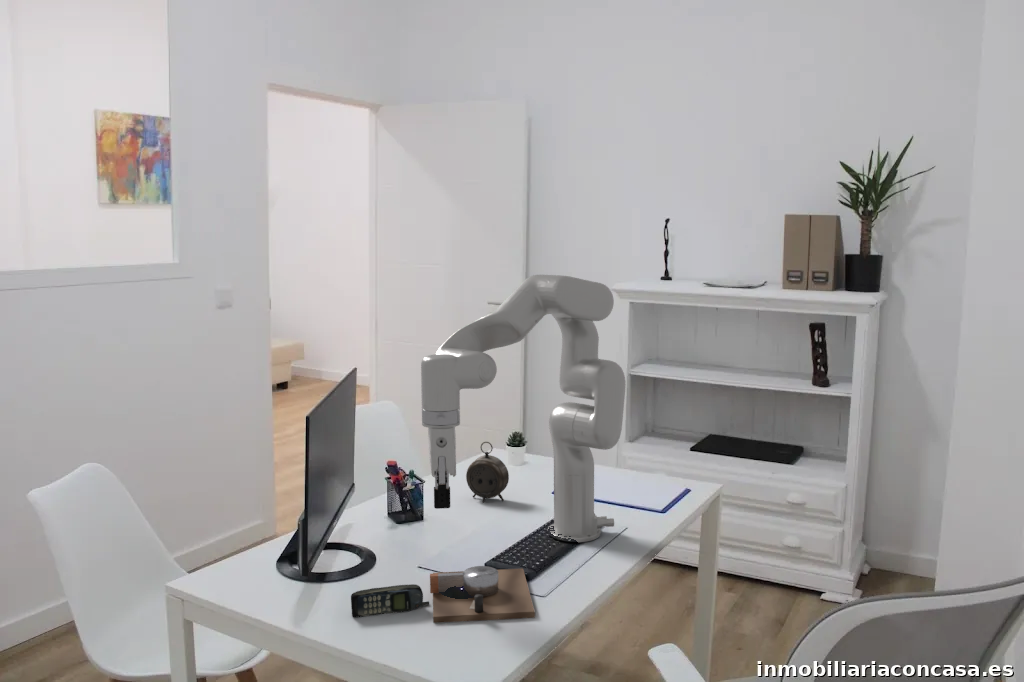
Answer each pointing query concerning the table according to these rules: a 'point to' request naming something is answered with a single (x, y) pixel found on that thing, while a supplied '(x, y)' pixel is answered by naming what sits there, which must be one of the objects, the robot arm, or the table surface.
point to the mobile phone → (387, 600)
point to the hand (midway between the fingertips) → (442, 506)
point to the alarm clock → (487, 476)
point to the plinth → (488, 601)
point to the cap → (467, 581)
